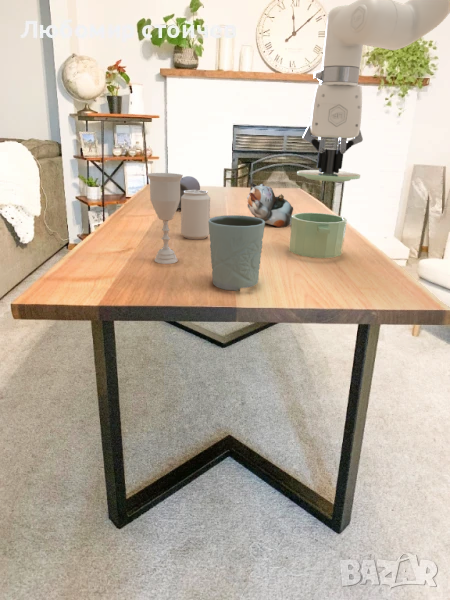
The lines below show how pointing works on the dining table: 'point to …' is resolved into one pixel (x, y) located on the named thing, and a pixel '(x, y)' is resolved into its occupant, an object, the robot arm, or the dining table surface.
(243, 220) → the green ceramic cup
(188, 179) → the bluetooth speaker
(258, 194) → the lucky cat figurine
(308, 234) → the pot
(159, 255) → the chalice
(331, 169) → the lid
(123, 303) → the dining table surface
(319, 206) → the dining table surface
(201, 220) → the can
